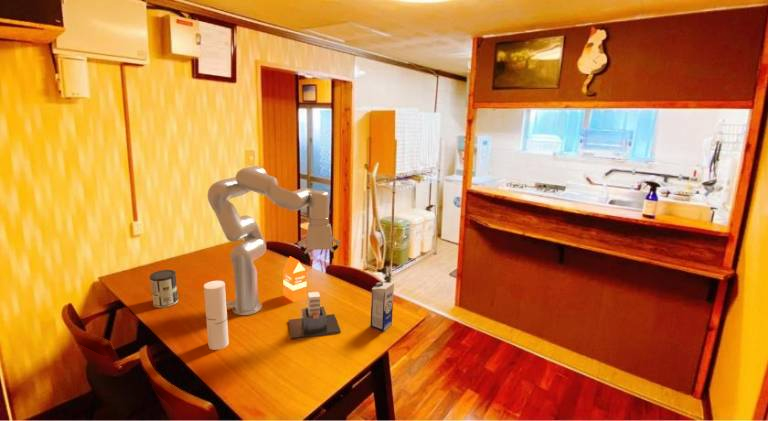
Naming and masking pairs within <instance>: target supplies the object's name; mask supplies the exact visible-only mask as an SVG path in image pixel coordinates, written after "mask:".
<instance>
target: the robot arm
mask: <svg viewBox="0 0 768 421" xmlns="http://www.w3.org/2000/svg"><path fill="white" fill-rule="evenodd" d="M251 191H252V192H253V193H257V194H260V195H263V196H264V197H267V198H268V200H269V201H271V202H272V203H273V204H274V205H276V206H278V207H280V208H283V209H286V210H289V211H294V212H297V211H299V210H302V209H304V208H306V207H309V218H306V220H305V221H306V223H308V226H307V231H306V237H305V238H302V240H299V241H298V242H297V245H298V248H300V250H301V251H302V252H303V253H304V260H305V261H306V263H310V262H309V261H310V260H309V251H311V250H313V251H314V250H315V251H318V250H329V261H330V262H333V260H334V258H335V256H334V254H335V251H336V250H338V248H339V246H340V244H341V240H340V239H338V238H335V237H333V231H332V225H331V223H329V222H330V218H329V217H330V194H329V192H328V191H326V190H316V189H312V188H309V187H302V188H300V189H295V190H293V191H291V190H289V189H286V188H282V187H281V186H279V180H278V179H277V178H276V177H275V176H272V175H269V174H268V172H267V171H266V169H264V168H263V167H261V166H258V165H253V166H249V167H243V168H241V169H240V170H239V171H238V172H237V173H236V174H235V177H229V178H225V179H221V180H218V181H216V182H214V183H213V184H212V185H210V187H209V188H208V191H207V201H208V204H209V205H210V207H211V209H212V210H213V211H214V213H215V216H216V217H217V220H218V223H219V225H220V227H221V229H222V232H223V234H224V235H225V237H226V239H227V241H229V242H232V243H235V242H239V241H241V240H244V241H242V242H241V243H239V244H237V245H235V246H234V247H233V248H232V250H231V251H230V259H231V263H232V268H233V277H234V293H235V297H234V299H233V300H232V301H226V307H227V308H228V309H229V308H232V312H233V313H234V314H235V315H239V316H251V315H253V314H257V313H258V312H260V311H261V309H262V307H263V304H262V303H261V301H259V291H258V290H259V289H258V271H257V267H256V265H255V264H254V261H255V260H257V259H258V258H260V257H262V256H263V255H264V254H265V253H266V252H267V244H266V240H265V238H264V236H263V234H262V231H261V229H260V227H259V225H258V222H257V221H256V220H255V218H253V217H252V216H250V215H241V216H240V215H239V212H238V209H237V208H236V206H235V205H234V204H233V203H232V202H231V201H230V199H234V198H237V197H241V196H243V195H246V194H248V193H250V192H251ZM333 242H334V243H335V244H334V245H333ZM305 243H306V247H305V246H303V244H305Z"/></svg>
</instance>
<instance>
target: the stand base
mask: <svg viewBox="0 0 768 421" xmlns="http://www.w3.org/2000/svg"><path fill="white" fill-rule="evenodd" d="M288 326H289V327H288V328H289V333H290V334H289V335H290V340H291V341H293V340H294V341H296V340H301V339H308V338H314V337H321V336H322V337H323V336H330V335H336V334H342V333H341V332H342V331H341V327H340V325H339V323H338V320H337V317H336V315H335V314H334V313H333V314H327V311H326V309H325V307H324V306H320V316H319V314H318V313H312V317H308V307H304V308H301V318H300V317H299V318H293V319H288Z"/></svg>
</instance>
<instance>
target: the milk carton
mask: <svg viewBox="0 0 768 421" xmlns="http://www.w3.org/2000/svg"><path fill="white" fill-rule="evenodd" d="M394 291H395V283H394V282H383V281H380V282H376V283H375V286H373V287H372V288H371V303H370V304H371V305H370V306H371V307H370V325H369V326H370V328H373V329H375V330H378V331H380V332H383V333H384V332H386V330H388V329H389V328H390V327H391V326H392V325H393V309H394V293H395V292H394Z"/></svg>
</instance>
